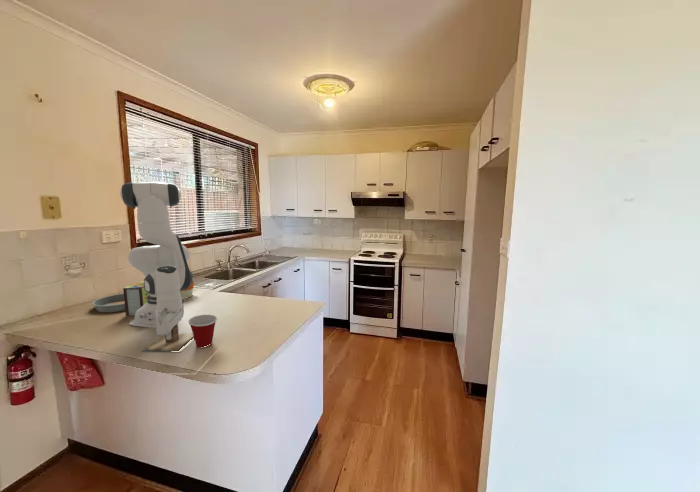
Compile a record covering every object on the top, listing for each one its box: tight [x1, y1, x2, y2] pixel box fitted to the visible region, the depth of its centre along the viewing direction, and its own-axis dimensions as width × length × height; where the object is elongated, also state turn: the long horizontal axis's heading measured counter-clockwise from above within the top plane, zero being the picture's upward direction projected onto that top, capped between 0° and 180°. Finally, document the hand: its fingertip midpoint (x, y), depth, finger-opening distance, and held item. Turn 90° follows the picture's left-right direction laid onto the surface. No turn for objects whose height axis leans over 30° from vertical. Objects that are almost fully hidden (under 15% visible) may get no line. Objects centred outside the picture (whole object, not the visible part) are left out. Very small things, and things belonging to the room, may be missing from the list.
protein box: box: [122, 280, 150, 317], centre depth 160 cm, size 10×15×16 cm
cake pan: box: [91, 292, 126, 313], centre depth 169 cm, size 25×25×4 cm
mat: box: [140, 347, 176, 353], centre depth 123 cm, size 16×15×1 cm
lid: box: [146, 325, 194, 351], centre depth 123 cm, size 13×13×7 cm
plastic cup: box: [188, 314, 218, 348], centre depth 121 cm, size 11×11×12 cm
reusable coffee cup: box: [180, 271, 195, 299], centre depth 186 cm, size 13×13×15 cm
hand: (172, 336), depth 123 cm, fingers closed on lid, 4 cm apart
